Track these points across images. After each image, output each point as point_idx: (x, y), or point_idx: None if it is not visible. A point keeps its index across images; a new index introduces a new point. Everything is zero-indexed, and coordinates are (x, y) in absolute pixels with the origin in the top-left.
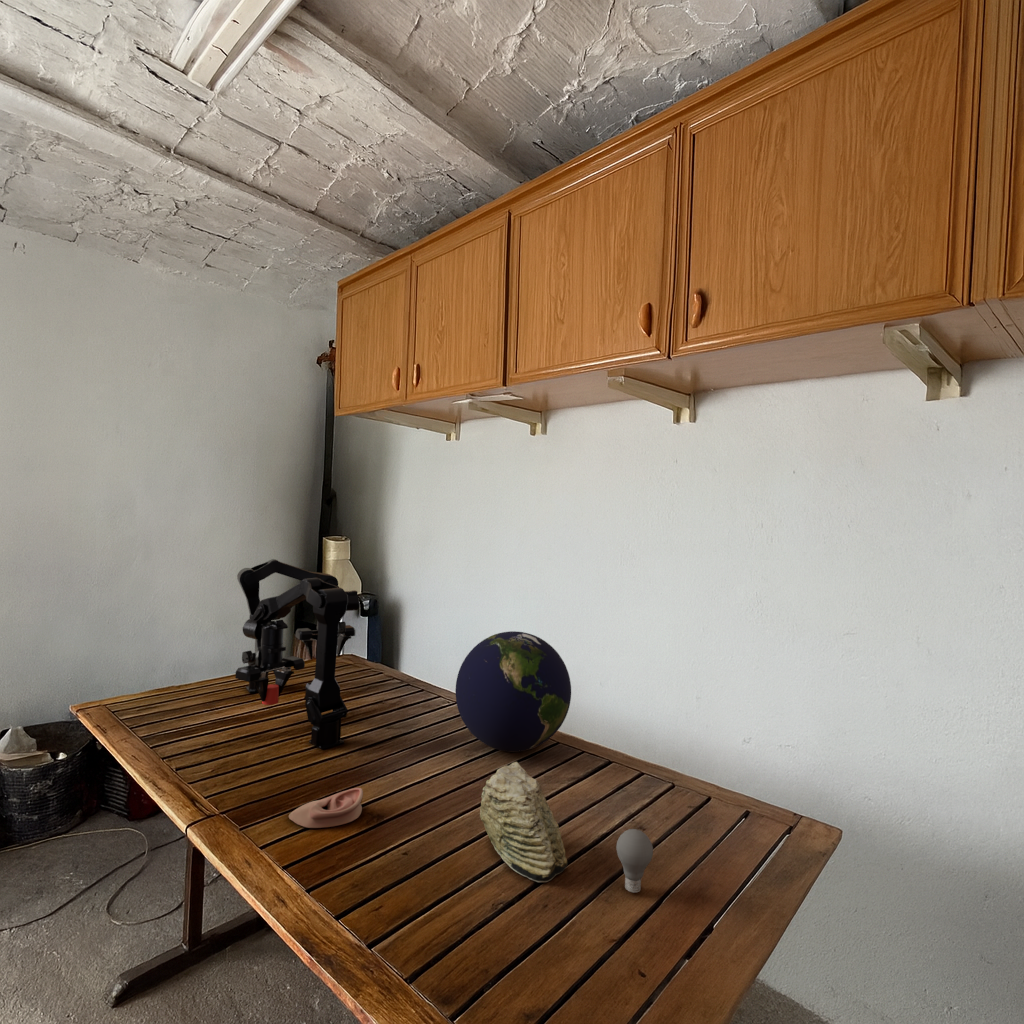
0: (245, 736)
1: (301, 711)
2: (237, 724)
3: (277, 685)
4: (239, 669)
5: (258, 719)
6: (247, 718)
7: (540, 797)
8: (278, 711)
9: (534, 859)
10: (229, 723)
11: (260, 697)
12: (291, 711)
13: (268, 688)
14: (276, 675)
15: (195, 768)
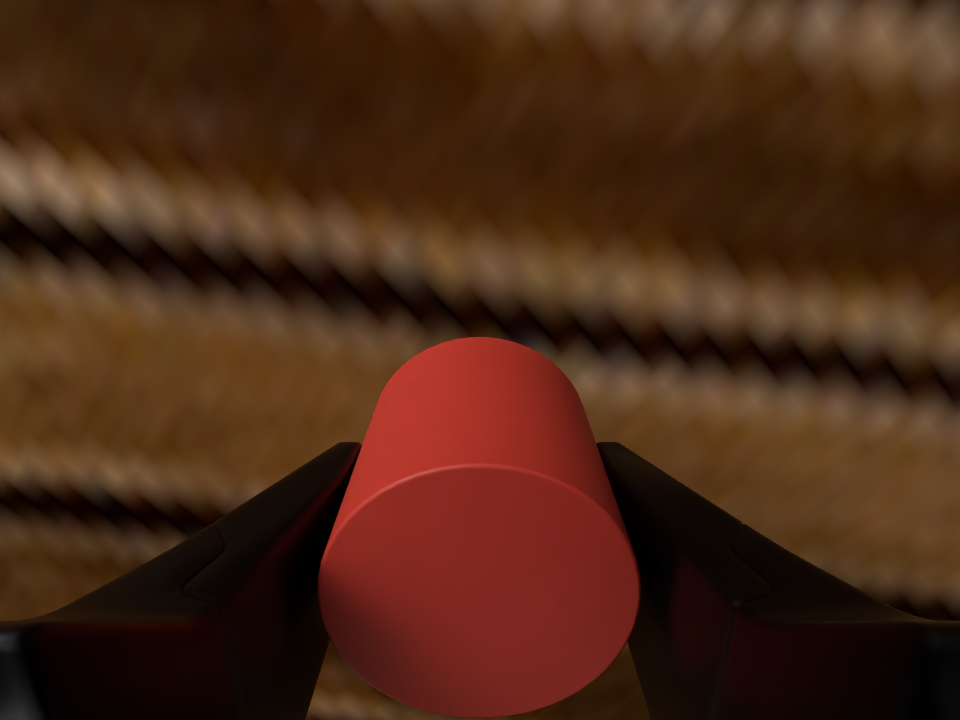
0: (118, 507)
1: (845, 371)
2: (187, 207)
3: (606, 641)
4: None
5: (421, 243)
6: (357, 121)
7: None
8: (723, 190)
9: None
10: (132, 109)
11: (313, 464)
12: (795, 297)
13: (364, 672)
14: (772, 696)
15: None
